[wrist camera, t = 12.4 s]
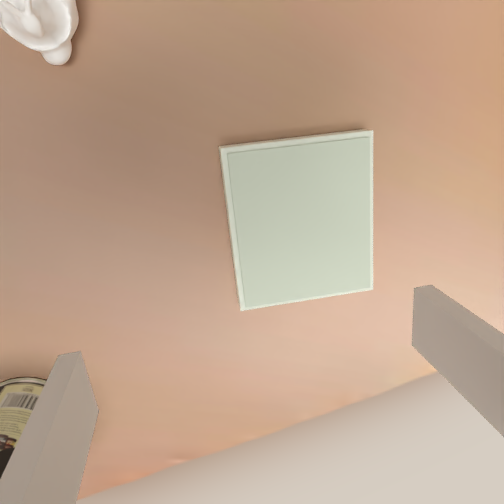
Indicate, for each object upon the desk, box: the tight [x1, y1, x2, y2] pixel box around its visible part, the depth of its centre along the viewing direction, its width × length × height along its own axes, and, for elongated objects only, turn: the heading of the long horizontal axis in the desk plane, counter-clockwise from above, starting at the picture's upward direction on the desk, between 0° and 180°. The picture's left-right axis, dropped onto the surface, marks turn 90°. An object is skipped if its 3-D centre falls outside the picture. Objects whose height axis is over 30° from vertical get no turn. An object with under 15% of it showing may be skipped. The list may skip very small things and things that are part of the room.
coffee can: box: [0, 378, 46, 451], centre depth 37 cm, size 10×10×14 cm
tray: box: [218, 129, 373, 311], centre depth 39 cm, size 14×16×3 cm
